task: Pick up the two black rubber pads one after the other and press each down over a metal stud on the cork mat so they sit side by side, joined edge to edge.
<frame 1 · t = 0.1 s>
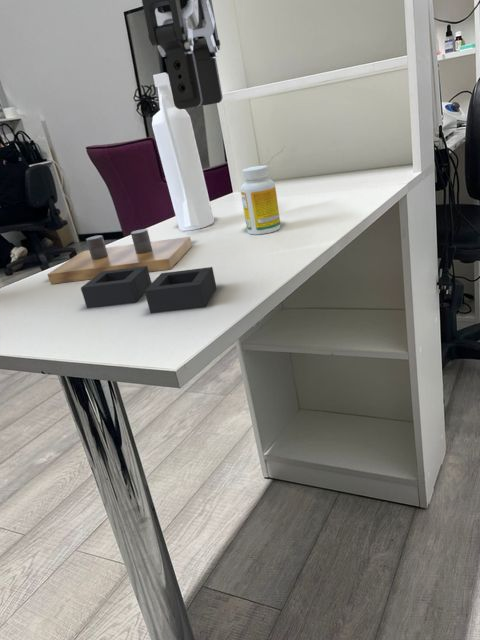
hand: (201, 105, 47), 19 cm above the table, tool pointing down, fingers open, 8 cm apart
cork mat: (124, 264, 80), on the table
supplement bottle: (264, 231, 86), on the table
pad front: (185, 304, 59), on the table
white spray bottle: (195, 228, 97), on the table
pad side: (121, 300, 64), on the table
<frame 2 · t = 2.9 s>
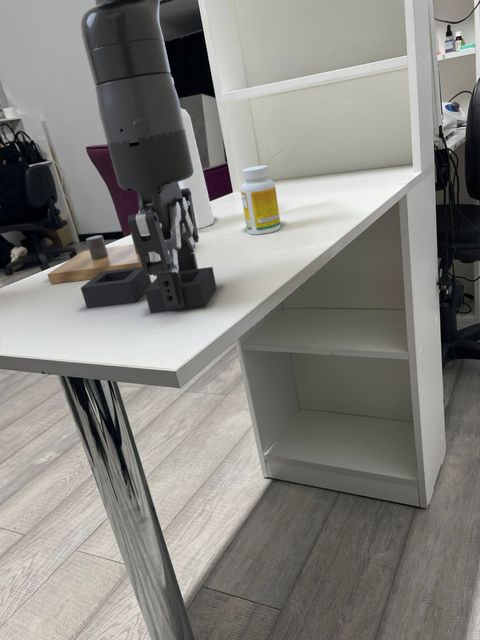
hand: (184, 296, 58), 1 cm above the table, tool pointing down, fingers closed on pad front, 6 cm apart
pad front: (185, 304, 59), on the table, touching gripper
everything else where it was.
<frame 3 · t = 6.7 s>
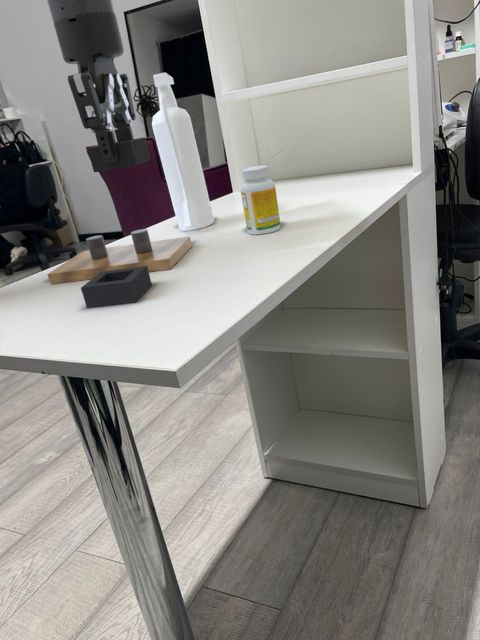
hand: (121, 158, 73), 15 cm above the table, tool pointing down, fingers closed on pad front, 6 cm apart
pad front: (123, 166, 73), point 14 cm above the table, touching gripper
everything else where it was.
when the fingers open (2 cm above the table, at t = 10.5 s): pad front stays where it is, resting on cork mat.
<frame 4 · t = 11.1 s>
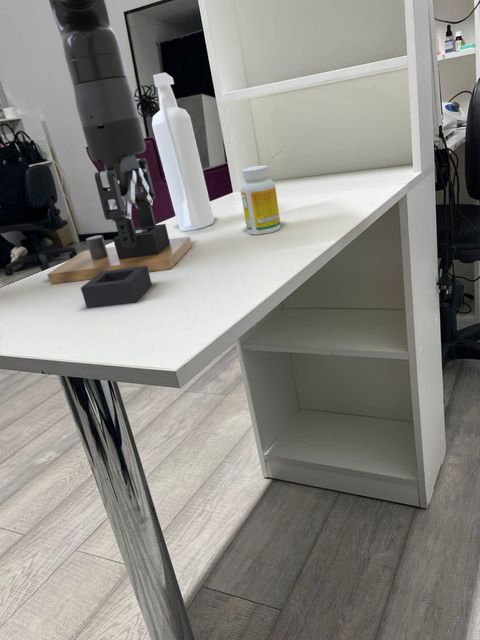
hand: (140, 239, 78), 3 cm above the table, tool pointing down, fingers open, 8 cm apart
pad front: (145, 251, 79), point 1 cm above the table, touching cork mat
everything else where it was.
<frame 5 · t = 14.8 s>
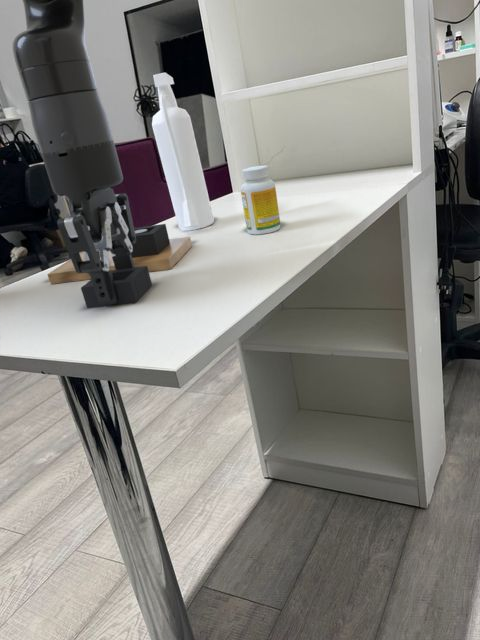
hand: (119, 292, 64), 1 cm above the table, tool pointing down, fingers closed on pad side, 6 cm apart
pad side: (121, 300, 64), on the table, touching gripper
everything else where it was.
when the fingers open (2 cm above the table, at t = 22.3 s): pad side stays where it is, resting on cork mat.
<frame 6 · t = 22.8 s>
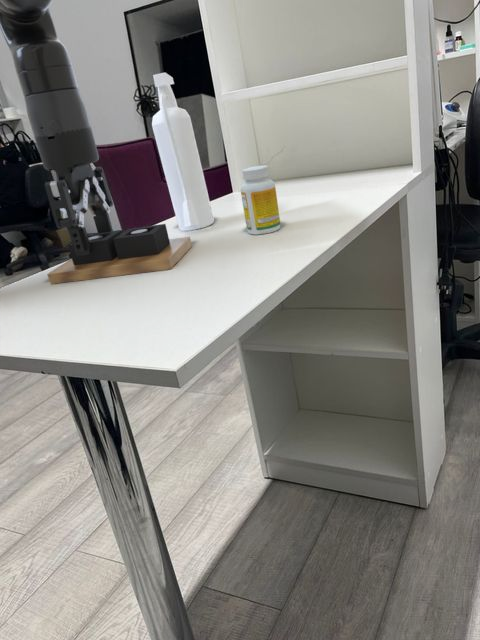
hand: (96, 246, 80), 3 cm above the table, tool pointing down, fingers open, 8 cm apart
pad side: (101, 257, 80), point 1 cm above the table, touching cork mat
everything else where it was.
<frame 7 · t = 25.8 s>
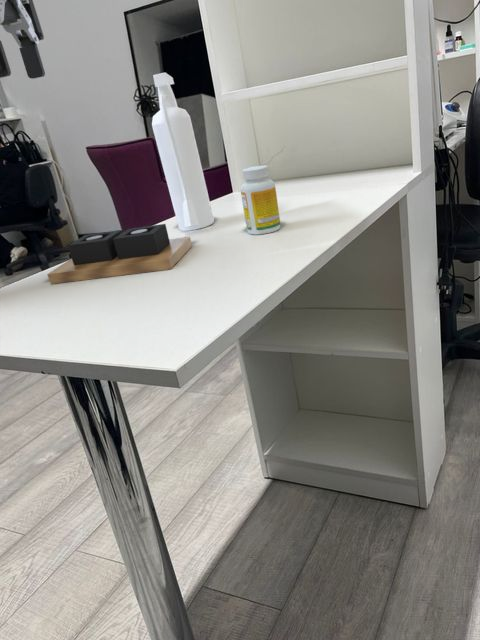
hand: (20, 77, 69), 26 cm above the table, tool pointing down, fingers open, 8 cm apart
nothing on the table moved.
at the end: pad front 0.1 cm from the target spot on the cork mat, point 1.5 cm above the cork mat's base; pad side 0.2 cm from the target spot on the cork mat, point 1.5 cm above the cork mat's base; the gripper is holding nothing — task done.
